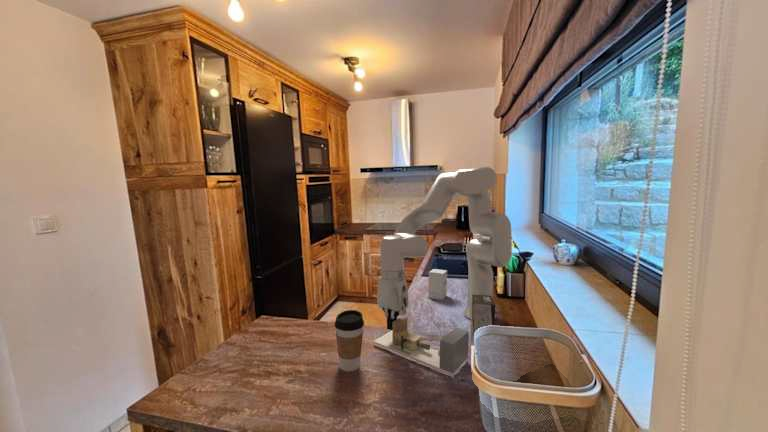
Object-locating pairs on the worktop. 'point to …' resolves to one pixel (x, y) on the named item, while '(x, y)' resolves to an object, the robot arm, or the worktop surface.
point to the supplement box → (437, 284)
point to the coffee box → (482, 312)
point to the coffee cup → (349, 339)
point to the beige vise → (435, 351)
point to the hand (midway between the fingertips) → (391, 328)
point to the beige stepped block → (406, 336)
